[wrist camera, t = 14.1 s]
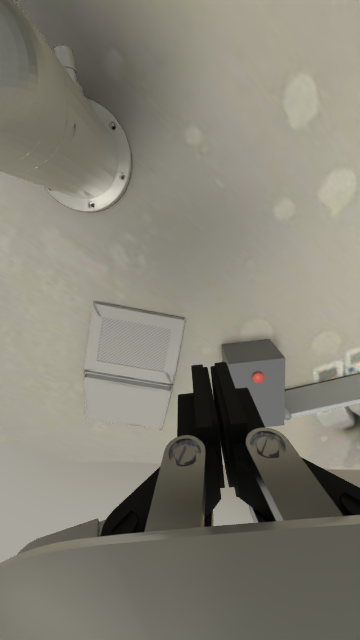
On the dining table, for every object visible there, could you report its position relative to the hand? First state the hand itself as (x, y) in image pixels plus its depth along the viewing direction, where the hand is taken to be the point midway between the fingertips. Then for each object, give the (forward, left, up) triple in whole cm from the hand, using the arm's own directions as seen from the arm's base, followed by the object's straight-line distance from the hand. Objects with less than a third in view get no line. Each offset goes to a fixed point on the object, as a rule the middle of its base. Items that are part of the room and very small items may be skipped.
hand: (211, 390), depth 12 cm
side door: (+21, +22, -27) cm, 40 cm away
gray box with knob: (+17, +8, -27) cm, 33 cm away
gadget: (+14, -12, -28) cm, 34 cm away
